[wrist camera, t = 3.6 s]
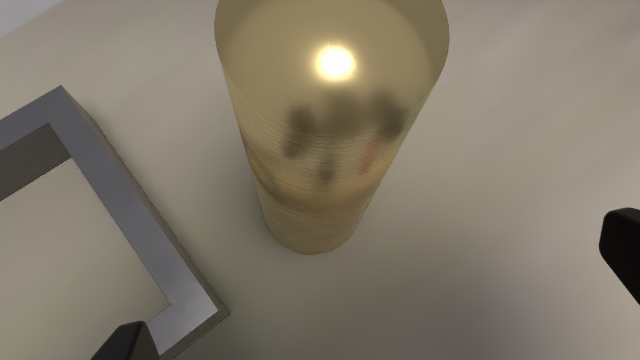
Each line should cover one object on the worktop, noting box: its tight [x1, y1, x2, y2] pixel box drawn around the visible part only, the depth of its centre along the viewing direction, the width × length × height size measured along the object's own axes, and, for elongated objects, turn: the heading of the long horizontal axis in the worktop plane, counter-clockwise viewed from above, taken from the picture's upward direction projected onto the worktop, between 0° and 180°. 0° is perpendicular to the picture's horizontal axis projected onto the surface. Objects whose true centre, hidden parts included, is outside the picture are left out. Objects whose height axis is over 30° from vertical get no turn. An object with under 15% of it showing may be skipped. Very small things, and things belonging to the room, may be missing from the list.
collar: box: [0, 85, 230, 360], centre depth 18 cm, size 11×11×3 cm
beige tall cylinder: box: [214, 0, 449, 254], centre depth 15 cm, size 4×4×13 cm
